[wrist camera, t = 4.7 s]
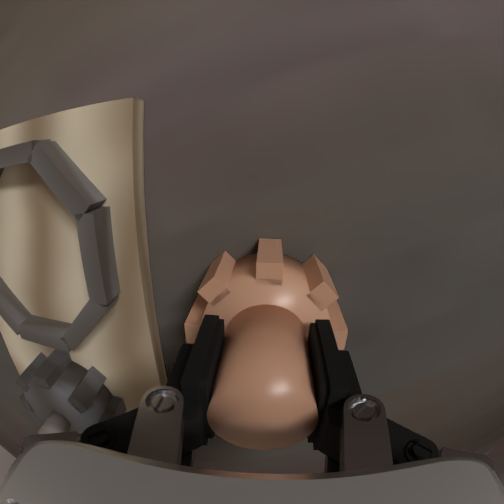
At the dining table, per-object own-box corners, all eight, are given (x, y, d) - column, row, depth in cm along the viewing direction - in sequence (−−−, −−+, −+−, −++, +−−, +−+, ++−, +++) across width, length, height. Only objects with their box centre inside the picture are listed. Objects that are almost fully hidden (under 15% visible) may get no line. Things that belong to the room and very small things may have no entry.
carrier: (143, 100, 12) (64, 79, 6) (183, 446, 20) (166, 508, 14) (-24, 142, 13) (-90, 154, 7) (48, 408, 21) (19, 451, 15)
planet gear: (343, 242, 14) (403, 332, 7) (324, 358, 16) (345, 469, 9) (196, 236, 14) (131, 321, 7) (203, 353, 17) (170, 461, 9)
